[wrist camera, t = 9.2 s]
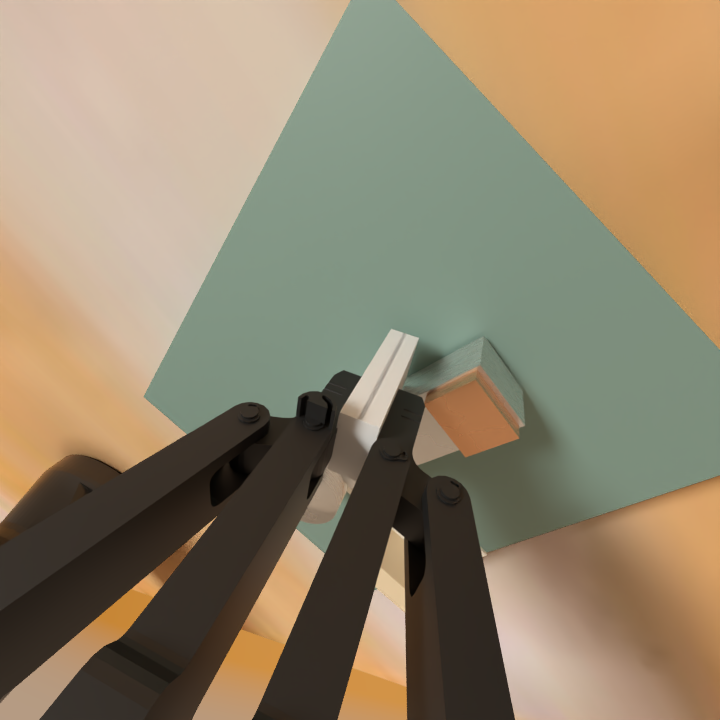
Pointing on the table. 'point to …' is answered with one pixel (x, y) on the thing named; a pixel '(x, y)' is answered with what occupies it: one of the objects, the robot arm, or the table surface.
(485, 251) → the board
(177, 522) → the robot arm
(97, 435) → the table surface
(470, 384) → the bar
